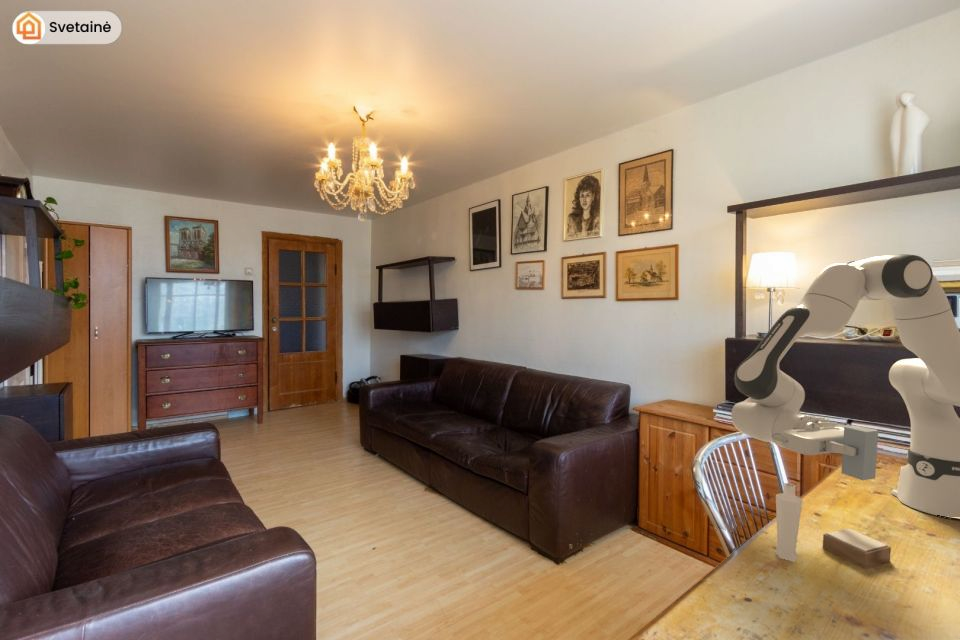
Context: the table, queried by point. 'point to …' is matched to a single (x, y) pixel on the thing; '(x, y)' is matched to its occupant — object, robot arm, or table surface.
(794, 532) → the perfume bottle
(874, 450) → the grey tall block
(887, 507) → the table surface
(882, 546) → the plinth
